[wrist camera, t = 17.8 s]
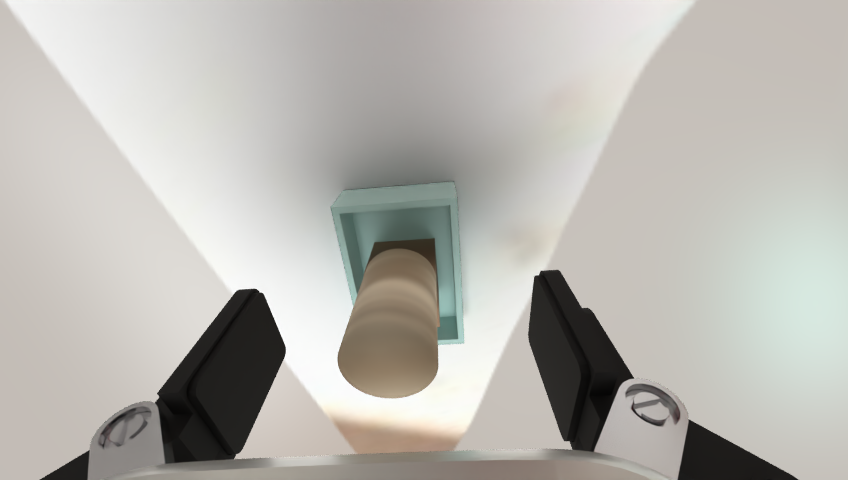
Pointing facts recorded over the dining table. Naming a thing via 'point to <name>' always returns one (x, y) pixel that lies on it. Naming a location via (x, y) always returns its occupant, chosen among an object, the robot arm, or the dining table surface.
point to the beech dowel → (392, 327)
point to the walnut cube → (419, 245)
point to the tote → (405, 238)
